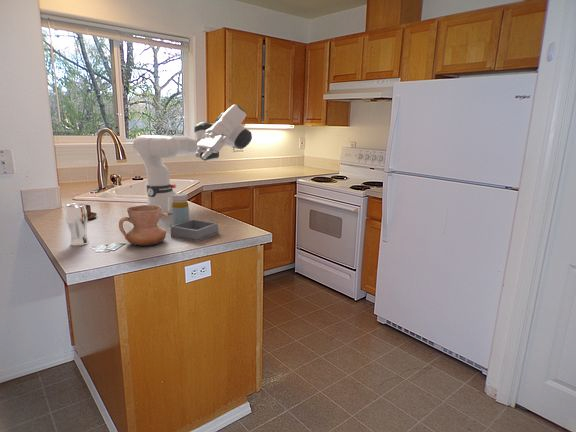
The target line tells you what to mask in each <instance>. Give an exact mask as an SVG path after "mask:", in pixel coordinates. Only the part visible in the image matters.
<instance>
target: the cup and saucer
mask: <svg viewBox="0 0 576 432" xmlns="http://www.w3.org/2000/svg"><path fill="white" fill-rule="evenodd" d="M85 206H86V211H87V221H88V220H91V219H94V218H95V217H97V213H96V212H93V211H91V210H92V209H91V204H90V205H89V204H85Z"/></svg>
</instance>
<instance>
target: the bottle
mask: <svg viewBox="0 0 576 432" xmlns="http://www.w3.org/2000/svg"><path fill="white" fill-rule="evenodd" d="M176 193H177V194H173V195H172V196H173V204H172V213H171V214H172V226H173V225H176V224H179V223H182V222H185V221H189V220H190V207H189V202H188V194H187V193H182V192H176Z"/></svg>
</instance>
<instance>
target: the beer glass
mask: <svg viewBox="0 0 576 432" xmlns="http://www.w3.org/2000/svg"><path fill="white" fill-rule="evenodd" d="M85 205H86V203H71V204H67V205H65V217H66V218H65V219H66V222H67V223H66V224H67V226H68V229H69V233H70V235H71V237H70V245H71V246H73V247H74V246H75V247H76V246H77V247H81V246H85V245H88V244H90V241H89V238H88V233H87V232H88V231H87V228H88V220H87V211H86V206H85Z"/></svg>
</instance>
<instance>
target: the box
mask: <svg viewBox="0 0 576 432" xmlns="http://www.w3.org/2000/svg"><path fill="white" fill-rule="evenodd" d="M217 234H219V223H217V222H213V221H205V220H199V219H195V218H192V219H189V221H185V222H182V223H179V224H176V225H173V224H172V225H170V237H171V238H176V239H180V240H186V241H191V242H196V243H197V242H200V241H203V240H205V239H208V238H211V237H213V236H215V235H217Z"/></svg>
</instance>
